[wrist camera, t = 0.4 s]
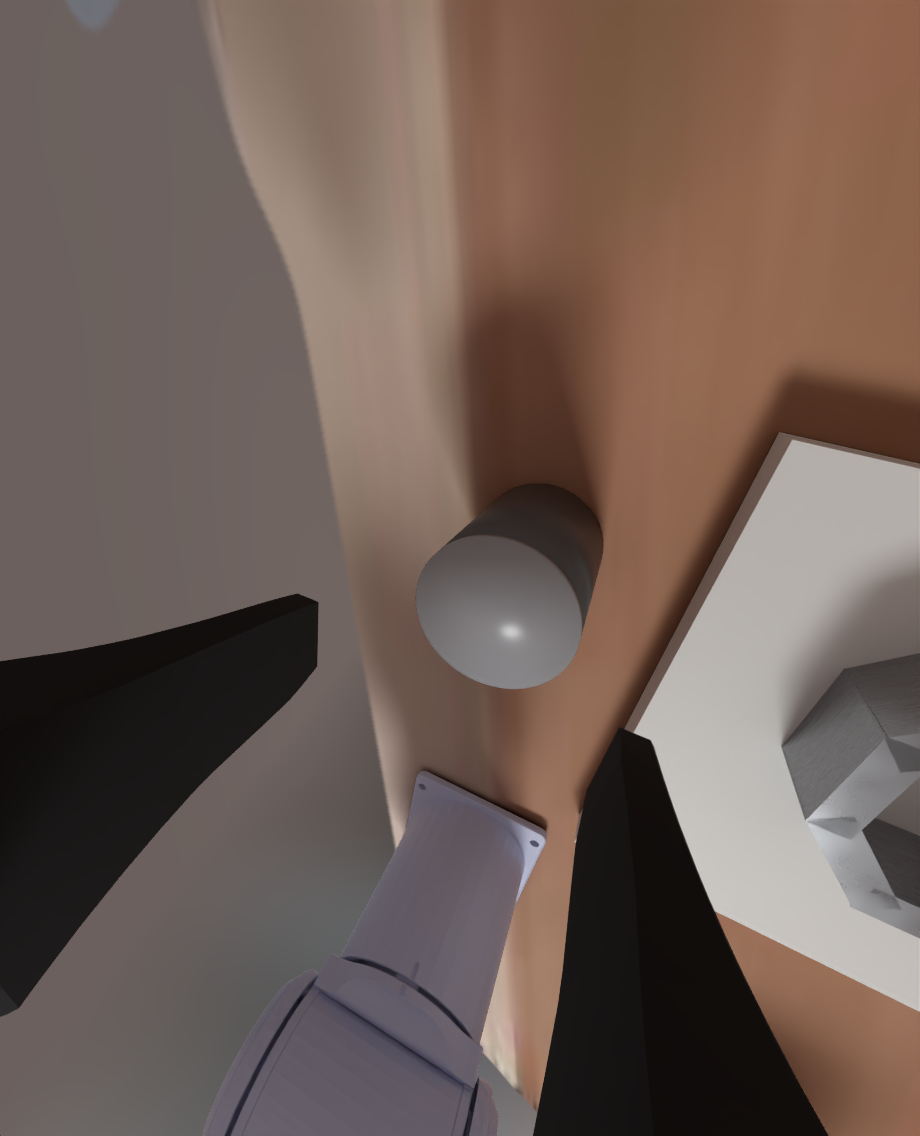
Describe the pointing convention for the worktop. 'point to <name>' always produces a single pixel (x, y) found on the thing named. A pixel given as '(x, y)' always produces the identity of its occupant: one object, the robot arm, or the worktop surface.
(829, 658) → the socket board
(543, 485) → the dark gray cylinder
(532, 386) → the worktop surface
